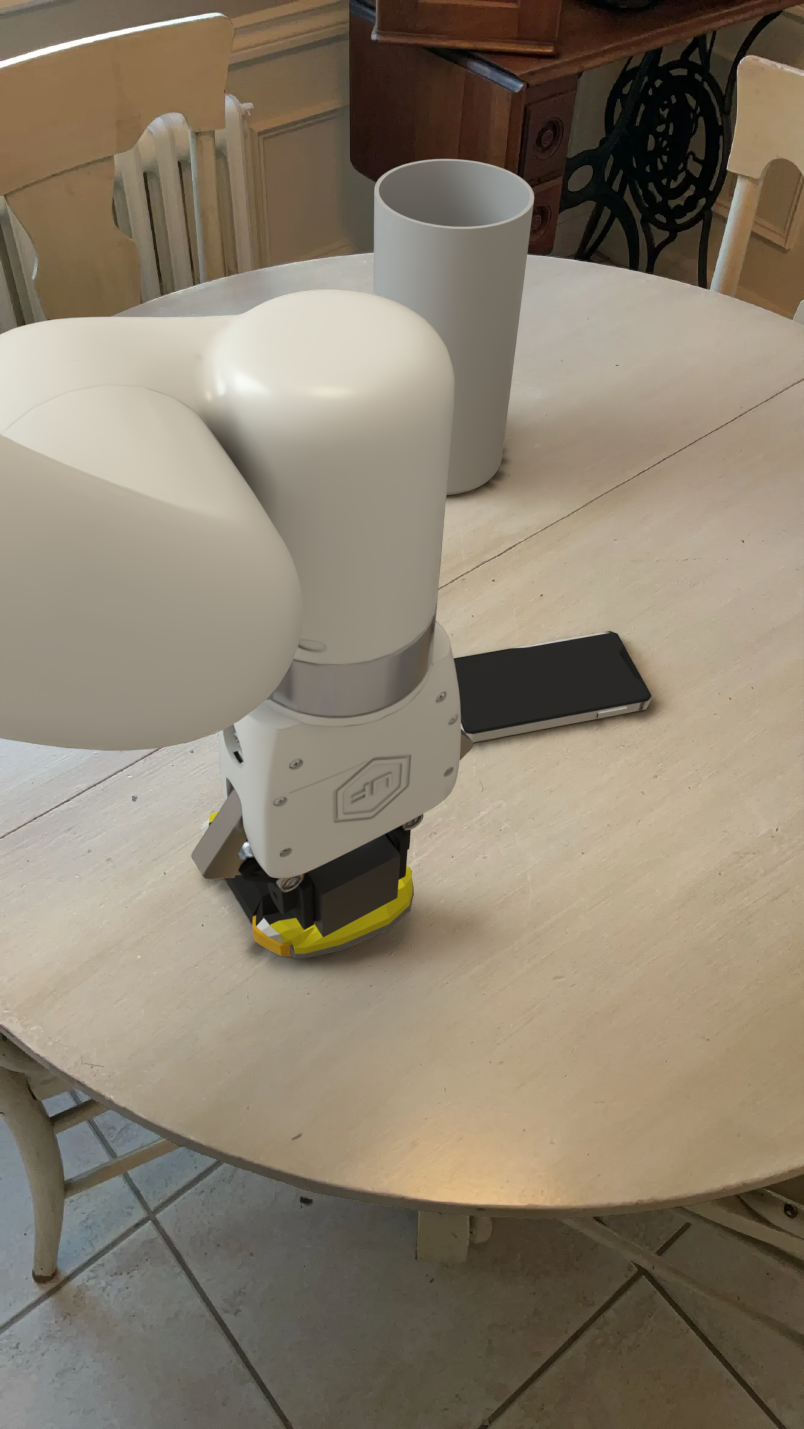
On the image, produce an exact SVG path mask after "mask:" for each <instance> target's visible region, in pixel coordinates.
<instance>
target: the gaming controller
mask: <svg viewBox="0 0 804 1429" xmlns="http://www.w3.org/2000/svg"><path fill="white" fill-rule="evenodd" d="M218 812H219V810H218V811H215V812H213V813H211V814H210V815H209V818H207V819H206V820H205V821H204V822H203V823H202V824H200V832H201V835H202V836H203V835H204V833H205V832H206V830H207V829H208V827H209V826H210V824H211V823H212V821H213V820H214V818H215V816H216V815H217V813H218ZM223 879H224V880H225V882H226V884H227V885H228V887H229V889H230V890H231V892H232V894H233V895H234V897H235V899H236V900H237V902H238V904H239V906H240V907H241V909H242V910H243V913H244V915H245V916H246V917H247V919H248V921H249V923H250V924H251V926H252V927H251V928H252V938H253V941H255V943H257V944H258V945H259V946H260V947H263V948H265V949H266V950H268V951H270V952H272V953H274V954H276V955H277V956H280V957H287V958H294V959H309V958H313V957H314V958H315V957H318V956H322V955H326V954H331V953H335V952H340V951H344V950H346V949H348V948H351V947H353V946H355V945H357V944H360V943H362V942H364V941H366V940H369V939H372V938H374V937H376V936H379V935H381V934H383V933H386V932H388V931H390V930H391V929H392V928H394V926H396V925H397V924H398V923H399V922H400V921H401V920H402V919H403V918H404V917H405V916H406V915H407V914H408V913H410V912H411V909H412V905H413V900H414V896H415V888H414V887H415V886H414V882H413V870H412V868H411V867H410V866H409V865H407V866H406V876H405V877H403V878H402V879H400V880H399V883H398V897H397V898H396V899H394V900H393V901H391V902H389V903H387V904H385V905H383V906H381V907H380V908H378V909H376V910H374V911H372V912H370V913H368V914H366V915H365V916H363V917H361V918H359V919H357V920H355V921H353V922H351V923H350V924H348V925H346V926H344V927H342V928H340V929H338V930H337V931H335V932H333V933H331V934H329V935H327V936H325V937H322V935H321V933H320V932H319V930H318V929H317V927H316V926H315V924H314V925H313V926H311V927H309V928H307V929H305V930H304V929H303V928H302V927H301V925H300V923H299V922H298V920H297V919H296V917H295V916H294V914H293V912H292V911H289V912H287V913H285V914H282V913H281V912H280V911H279V909H278V908H277V906H276V905H275V903H274V901H273V899H272V897H271V895H270V892H269V888H268V882H257V881H247V880H245V879H244V878H243V877H242V875H236V876H235V877H234V878H223Z"/></svg>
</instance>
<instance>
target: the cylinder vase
mask: <svg viewBox="0 0 804 1429" xmlns="http://www.w3.org/2000/svg"><path fill="white" fill-rule="evenodd" d="M373 189H374V193H373V197H374V199H373V201H374V202H373V204H374V205H373V284H372V285H373V286H372V288H373V289H372V290H373V292H372V294H375V295H379V296H382V297H385V298H387V299H390V300H393V301H396V302H398V303H400V304H402V305H404V306H406V307H408V308H409V309H411V310H412V311H414V312H415V313H417V314H418V315H420V316H421V317H422V318H424V319H425V320H426V321H427V322H428V323H429V324H430V325H431V326H432V327H433V328H434V329H435V330H436V332H437V333H438V334H439V336H440V337H441V339H442V341H443V342H444V344H445V345H446V347H447V350H448V353H449V356H450V359H451V363H452V366H453V372H454V381H455V385H454V411H453V423H452V435H451V447H450V459H449V470H448V482H447V494H446V496H450V495H459V494H463V493H467V492H470V491H472V490H473V491H474V490H475V489H477V488H479V487H481V486H483V485H484V484H486V483H487V482H489V481H490V480H491V479H492V478H493V477H494V476H495V475H496V473H497V472H498V471H499V468H500V466H501V464H502V461H503V460H502V459H503V453H504V446H505V445H504V444H505V436H506V428H507V421H508V412H509V405H510V396H511V389H512V381H513V372H514V365H515V364H514V363H515V357H516V348H517V340H518V332H519V324H520V316H521V308H522V301H523V300H522V299H523V291H524V283H525V275H526V268H527V259H528V253H529V252H528V251H529V244H530V235H531V227H532V219H533V211H534V204H535V203H534V202H535V193H534V191H533V189H532V187H531V186H530V184H529V183H528V182H527V181H526V180H525V179H524V178H522V177H521V176H519V175H517V174H515V173H513V172H512V171H510V170H507V169H506V168H503V167H500V166H497V165H493V164H491V163H485V162H481V161H475V160H469V159H459V158H433V159H424V160H417V161H411V162H408V163H405V164H402V165H398V166H396V167H393V168H391V169H390V170H388V171H387V172H385V173H384V174H382V175H381V176H380V177H379V178H378V179H377V181H376V183H375V185H374V188H373Z"/></svg>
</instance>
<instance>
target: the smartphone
mask: <svg viewBox="0 0 804 1429" xmlns="http://www.w3.org/2000/svg"><path fill="white" fill-rule="evenodd" d="M453 658H454V663H455V668H456V675H457V681H458V688H459V696H460V712H461V729H462V730H463V731H464V732H465V733H466V734H467V736H468V737H469V738H470V739H471V740H472V741H473V743H476V742H482V741H488V740H494V739H498V738H503V737H509V736H515V735H519V734H524V733H530V732H535V731H540V730H545V729H550V728H555V727H561V726H566V725H570V724H576V723H582V722H588V721H593V720H598V719H603V718H608V717H609V718H610V717H612V716H613V717H615V716H619V715H625V714H629V713H634V712H639V711H645V710H647V708H648V707H649V705H650V703H651V700H652V697H653V695H652V694H651V692H650V690H649V688H648V686H647V684H646V682H645V680H644V679H643V677H642V675H641V674H640V671H639V670H638V668H637V666H636V664H635V663H634V661H633V659H632V657H631V655H630V653H629V652H628V649H627V648H626V646H625V644H624V642H623V641H622V639H621V637H620V635H619V633H617V632H614V631H611V630H607V631H602V632H596V633H590V634H584V635H579V636H573V637H568V638H561V639H556V640H550V641H545V642H539V643H532V644H527V645H522V646H516V647H509V648H506V649H499V650H493V651H492V650H491V651H488V652H482V653H476V654H470V655H465V656H459V657H453Z"/></svg>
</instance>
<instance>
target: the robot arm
mask: <svg viewBox="0 0 804 1429" xmlns="http://www.w3.org/2000/svg"><path fill="white" fill-rule="evenodd" d="M454 385H455V381H454V372H453V366H452V363H451V359H450V356H449V353H448V350H447V347H446V345H445V344H444V342H443V341H442V339H441V337H440V336H439V334H438V333H437V332H436V330H435V329H434V328H433V327H432V326H431V325H430V324H429V323H428V322H427V321H426V320H425V319H424V318H422V317H421V316H420V315H418V314H417V313H415V312H414V311H412V310H411V309H409V308H408V307H406V306H404V305H402V304H400V303H398V302H396V301H393V300H390V299H387V298H385V297H382V296H379V295H375V294H373V293H370V292H365V291H360V290H351V289H341V288H340V289H339V288H338V289H337V288H336V289H335V288H323V289H309V290H301V291H295V292H290V293H287V294H283V295H279V296H276V297H274V298H271V299H268V300H266V301H263V302H262V303H260V304H258V305H256V306H254V307H252V308H251V309H249V310H247V311H244V312H242V313H238V314H221V315H206V316H205V315H204V316H88V317H87V316H86V317H85V316H84V317H67V318H56V319H55V318H54V319H49V320H43V321H39V322H33V323H29V324H25V325H21V326H18V327H14V328H12V329H9V330H8V331H5V332H2V333H0V739H2V740H8V741H15V742H21V743H27V744H33V745H40V746H45V747H47V746H48V747H53V748H54V747H56V748H62V749H75V750H76V749H77V750H91V751H104V752H105V751H107V752H109V751H110V752H127V751H128V752H129V751H130V752H131V751H141V750H142V751H143V750H152V749H163V748H167V747H172V746H178V745H183V744H188V743H192V742H195V741H197V740H200V739H203V738H207V737H209V736H212V735H215V734H217V733H218V757H219V774H220V776H219V777H220V785H221V794H222V800H223V804H222V806H221V807H220V809H219V810H218V811H219V812H218V813H217V815H216V816H215V818H214V820H213V821H212V823H211V824H210V826H209V827H208V829H207V830H206V832H205V833H204V835H202V836H201V838H200V839H199V841H198V843H197V844H196V846H195V847H194V849H193V850H192V852H191V854H190V855H191V859H192V861H193V862H194V864H195V866H196V867H197V869H198V871H199V872H200V874H201V876H202V877H203V879H205V880H219V879H224V878H234V877H235V876H236V875H242V877H243V878H244V879H245V880H247V881H257V882H268V888H269V892H270V895H271V897H272V899H273V901H274V903H275V905H276V906H277V908H278V909H279V911H280V912H281V913H282V914H285V913H287V912H289V911H292V912H293V914H294V916H295V917H296V919H297V920H298V922H299V923H300V925H301V927H302V928H303V929H304V930H305V929H307V928H309V927H311V926H313V925H314V922H315V900H314V885H313V883H314V882H313V880H312V878H311V877H310V875H309V874H308V871H311V870H313V869H315V868H317V867H319V866H321V865H323V864H326V863H328V862H330V861H332V860H334V859H336V858H338V857H340V856H342V855H344V854H346V853H348V852H350V851H352V850H354V849H356V848H358V847H360V846H362V845H364V844H366V843H368V842H370V841H372V840H374V839H376V838H378V837H380V836H382V835H383V834H385V835H386V836H387V838H388V839H389V840H390V842H391V843H392V845H393V846H394V847H395V849H396V850H397V851H398V853H399V854H400V868H399V880H400V879H402V878H403V877H405V876H406V866H408V865H407V864H408V850H410V847H411V835H412V834H411V833H412V830H413V829H415V828H416V827H418V826H419V825H420V824H421V822H422V821H423V819H424V815H425V813H427V812H429V811H430V810H432V809H435V807H437V806H438V805H439V804H441V803H442V802H444V801H445V800H446V799H447V798H448V797H449V796H450V795H451V794H452V792H453V790H454V788H455V786H456V783H457V780H458V775H459V769H460V761H461V760H462V759H464V757H465V756H467V754H468V753H469V752H470V751H471V750H472V749H473V747H474V742H473V741H472V740H471V739H470V738H469V737H468V736H467V734H466V733H465V732H464V731H463V730H462V729H461V712H460V696H459V688H458V681H457V675H456V668H455V663H454V658H455V657H454V653H453V649H452V644H451V640H450V638H449V634H448V632H447V631H446V629H445V628H444V627H443V625H441V624H440V622H439V621H438V620H437V613H438V612H437V610H438V599H439V588H440V577H441V564H442V553H443V552H442V551H443V540H444V529H445V517H446V505H447V495H446V494H447V482H448V470H449V459H450V447H451V435H452V423H453V411H454Z"/></svg>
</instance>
